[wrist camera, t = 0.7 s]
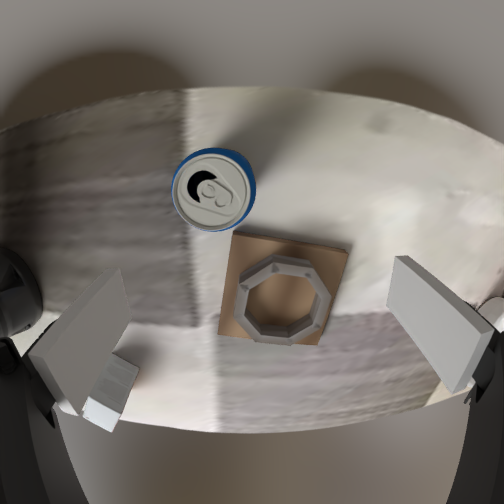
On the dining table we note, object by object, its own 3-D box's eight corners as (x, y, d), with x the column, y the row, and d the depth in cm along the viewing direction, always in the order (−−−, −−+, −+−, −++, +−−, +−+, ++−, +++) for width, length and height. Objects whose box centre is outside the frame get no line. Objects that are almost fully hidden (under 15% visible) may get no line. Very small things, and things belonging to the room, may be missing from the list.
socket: (218, 327, 37) (215, 346, 34) (233, 230, 33) (231, 241, 29) (315, 339, 39) (320, 356, 35) (344, 249, 34) (355, 261, 30)
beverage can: (217, 138, 29) (199, 130, 18) (264, 171, 30) (275, 182, 19) (184, 184, 31) (150, 204, 19) (230, 216, 32) (222, 253, 21)
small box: (128, 390, 43) (112, 433, 33) (102, 376, 42) (81, 417, 32) (141, 367, 40) (122, 415, 31) (111, 351, 39) (87, 396, 29)
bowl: (448, 307, 38) (474, 334, 30) (516, 261, 36) (542, 278, 28) (442, 379, 45) (458, 403, 37) (504, 335, 42) (522, 353, 35)
